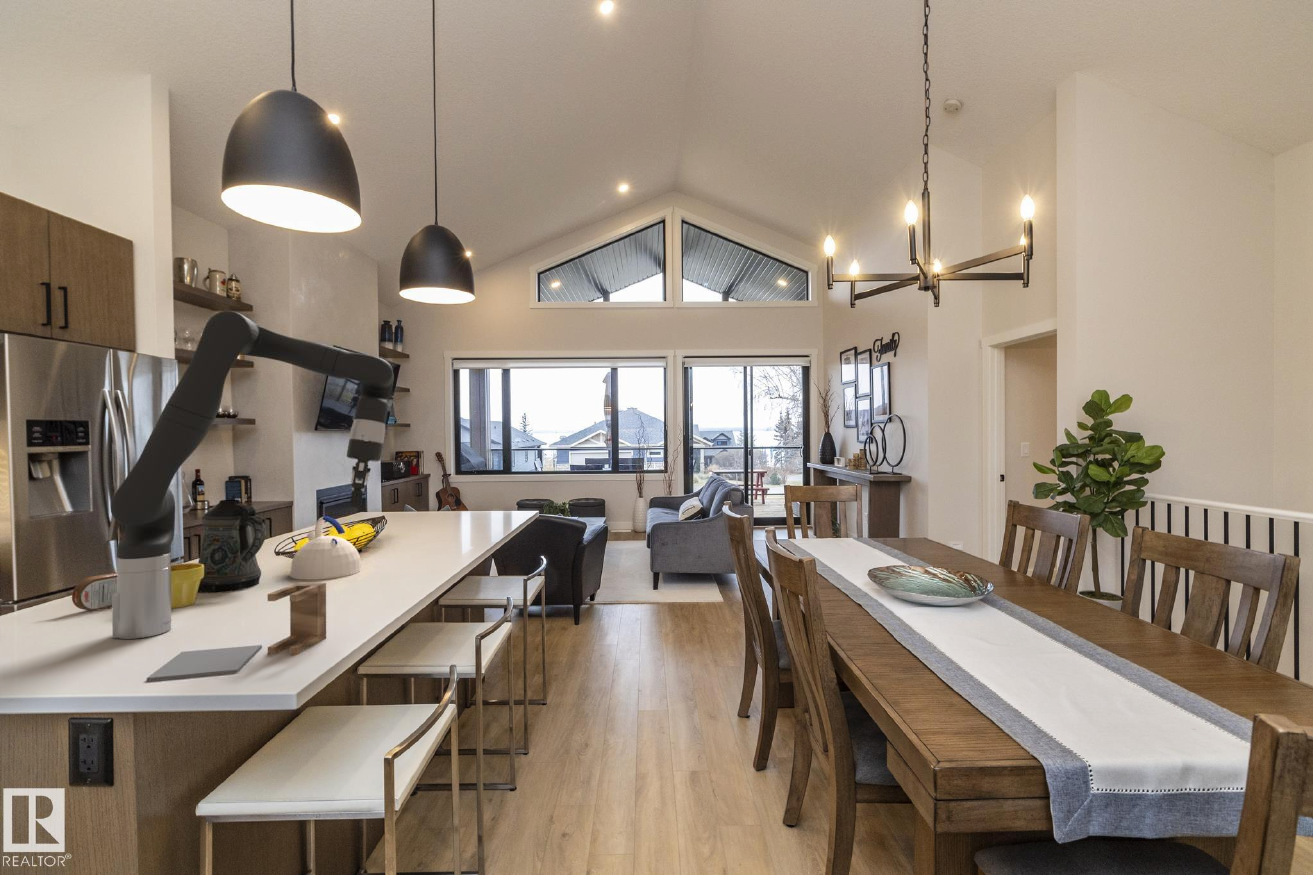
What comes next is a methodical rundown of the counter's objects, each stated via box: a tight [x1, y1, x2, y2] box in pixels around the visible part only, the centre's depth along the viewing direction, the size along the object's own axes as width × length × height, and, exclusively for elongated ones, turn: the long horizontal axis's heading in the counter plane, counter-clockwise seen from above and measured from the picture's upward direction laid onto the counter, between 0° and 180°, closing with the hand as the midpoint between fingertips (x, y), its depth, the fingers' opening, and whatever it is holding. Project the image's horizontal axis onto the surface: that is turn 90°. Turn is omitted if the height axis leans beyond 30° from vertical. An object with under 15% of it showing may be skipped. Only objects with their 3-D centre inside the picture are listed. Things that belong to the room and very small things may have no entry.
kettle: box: [289, 515, 362, 581], centre depth 198 cm, size 20×21×18 cm
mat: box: [146, 644, 263, 682], centre depth 119 cm, size 14×14×1 cm
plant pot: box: [171, 562, 204, 609], centre depth 160 cm, size 10×10×10 cm
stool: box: [267, 581, 327, 656], centre depth 129 cm, size 10×6×12 cm, turn 177°
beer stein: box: [197, 499, 267, 594], centre depth 180 cm, size 16×19×25 cm
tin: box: [71, 572, 117, 612], centre depth 159 cm, size 15×3×8 cm, turn 159°
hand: (355, 507), depth 148 cm, fingers open, 8 cm apart
